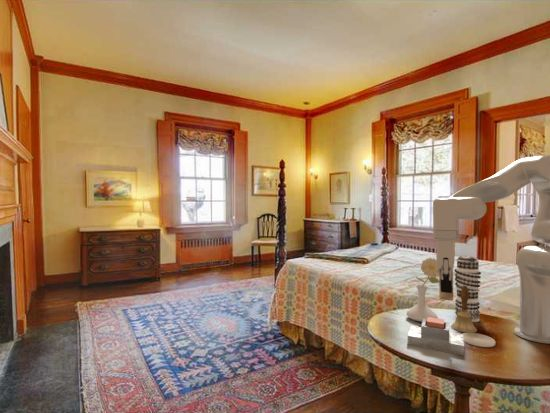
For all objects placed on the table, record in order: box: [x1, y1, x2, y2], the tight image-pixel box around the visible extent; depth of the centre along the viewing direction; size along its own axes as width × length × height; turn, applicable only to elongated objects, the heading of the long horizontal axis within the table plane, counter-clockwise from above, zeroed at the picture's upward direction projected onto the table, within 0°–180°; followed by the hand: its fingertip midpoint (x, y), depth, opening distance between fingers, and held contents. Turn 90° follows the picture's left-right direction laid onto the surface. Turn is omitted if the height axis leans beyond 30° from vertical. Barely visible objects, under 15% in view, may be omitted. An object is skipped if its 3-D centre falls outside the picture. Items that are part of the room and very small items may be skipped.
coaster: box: [461, 332, 496, 348], centre depth 110 cm, size 10×10×1 cm
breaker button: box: [427, 317, 445, 329], centre depth 107 cm, size 5×5×4 cm
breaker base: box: [407, 319, 465, 356], centre depth 107 cm, size 16×10×6 cm, turn 61°
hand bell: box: [450, 286, 478, 333], centre depth 121 cm, size 8×8×16 cm
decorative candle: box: [454, 255, 482, 323], centre depth 132 cm, size 9×9×25 cm
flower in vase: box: [406, 257, 439, 323], centre depth 129 cm, size 13×11×25 cm
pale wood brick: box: [438, 268, 454, 301], centre depth 108 cm, size 4×4×10 cm
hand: (446, 289), depth 108 cm, fingers closed on pale wood brick, 4 cm apart
